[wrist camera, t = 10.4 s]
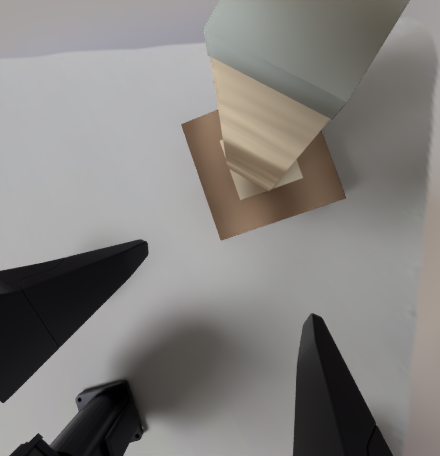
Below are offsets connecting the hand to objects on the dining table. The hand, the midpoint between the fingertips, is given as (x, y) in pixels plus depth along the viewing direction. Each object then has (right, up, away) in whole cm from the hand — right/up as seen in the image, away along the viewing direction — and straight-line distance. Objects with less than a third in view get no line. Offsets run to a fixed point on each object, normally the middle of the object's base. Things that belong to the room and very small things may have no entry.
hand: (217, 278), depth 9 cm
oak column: (+4, +9, +8) cm, 12 cm away
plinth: (+4, +9, +11) cm, 15 cm away
